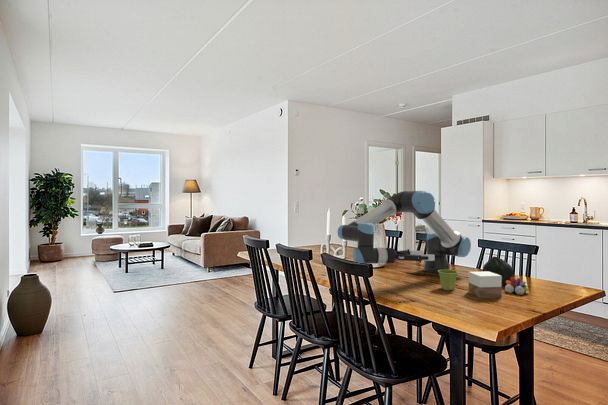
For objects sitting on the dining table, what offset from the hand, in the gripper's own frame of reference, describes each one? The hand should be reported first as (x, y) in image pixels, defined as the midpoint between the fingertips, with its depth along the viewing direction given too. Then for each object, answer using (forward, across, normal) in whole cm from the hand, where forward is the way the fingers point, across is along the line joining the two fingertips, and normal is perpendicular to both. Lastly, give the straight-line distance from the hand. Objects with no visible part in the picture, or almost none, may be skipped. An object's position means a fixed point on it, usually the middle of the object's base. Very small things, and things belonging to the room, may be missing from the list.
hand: (428, 255), depth 184 cm
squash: (+41, -9, -16) cm, 45 cm away
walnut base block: (+22, +12, -17) cm, 30 cm away
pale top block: (+22, +12, -12) cm, 27 cm away
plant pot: (+10, 0, -17) cm, 20 cm away
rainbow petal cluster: (+39, +9, -17) cm, 43 cm away
